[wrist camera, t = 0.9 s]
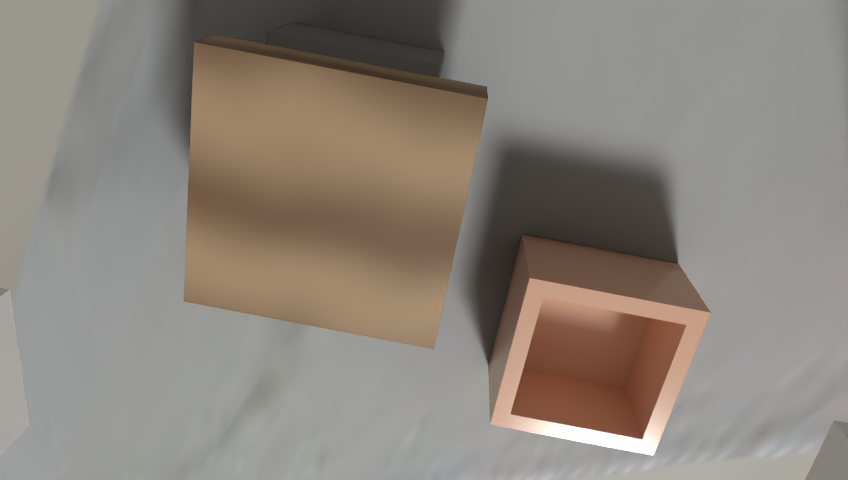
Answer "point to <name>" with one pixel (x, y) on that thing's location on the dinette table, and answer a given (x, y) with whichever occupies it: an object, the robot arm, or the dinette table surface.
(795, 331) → the dinette table surface
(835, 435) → the robot arm
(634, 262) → the pink hollow square box
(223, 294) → the lid
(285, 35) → the gray rectangular block
